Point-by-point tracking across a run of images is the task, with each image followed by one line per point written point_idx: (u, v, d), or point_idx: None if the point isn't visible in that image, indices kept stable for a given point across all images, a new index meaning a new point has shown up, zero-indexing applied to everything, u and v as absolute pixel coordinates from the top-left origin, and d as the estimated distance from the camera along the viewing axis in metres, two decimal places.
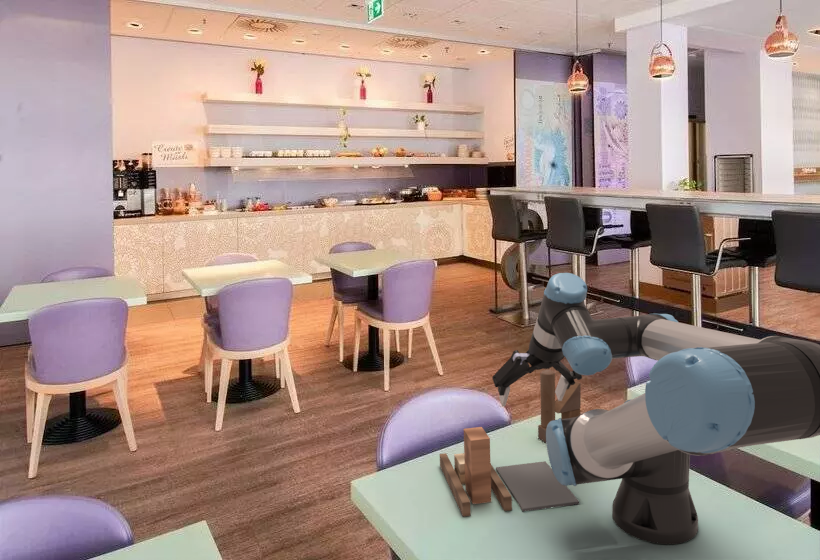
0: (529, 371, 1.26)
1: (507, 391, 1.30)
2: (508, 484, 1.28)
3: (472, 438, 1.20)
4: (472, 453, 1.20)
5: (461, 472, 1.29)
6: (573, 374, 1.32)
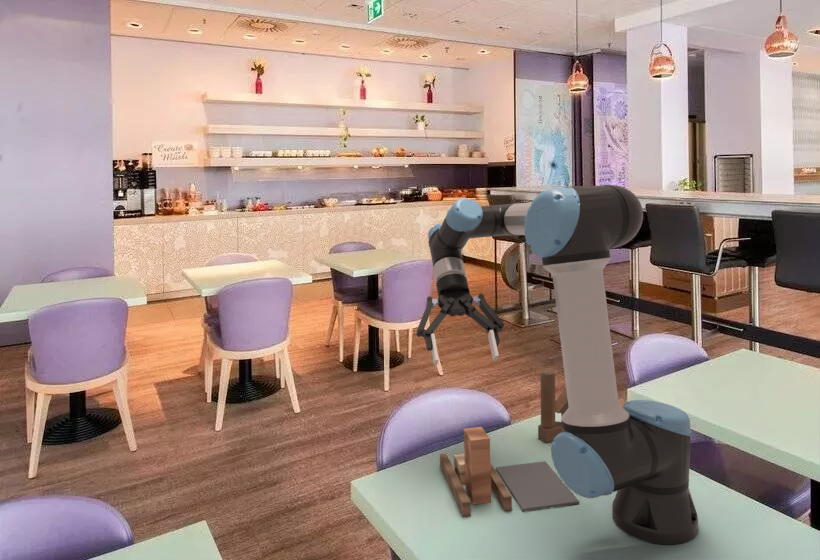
0: (444, 309, 1.35)
1: (432, 337, 1.31)
2: (508, 484, 1.28)
3: (472, 438, 1.20)
4: (472, 453, 1.20)
5: (461, 473, 1.29)
6: None
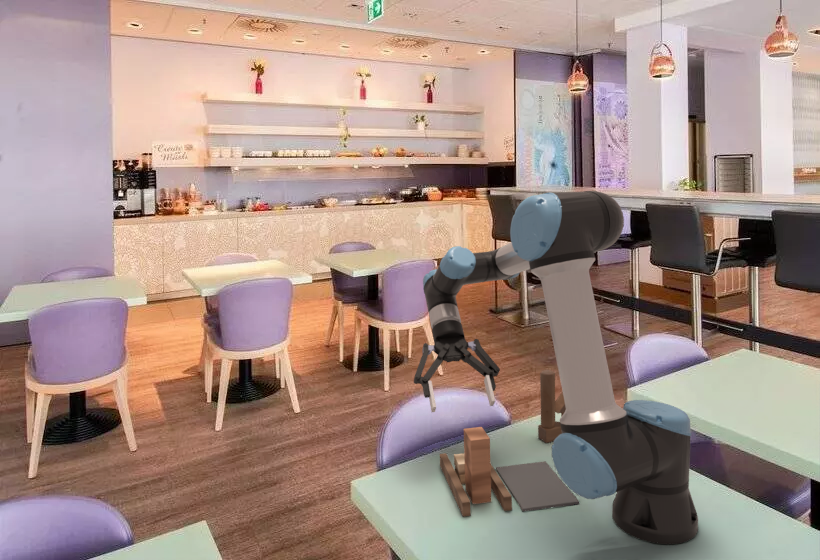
0: (440, 355, 1.38)
1: (430, 384, 1.33)
2: (508, 484, 1.28)
3: (472, 438, 1.20)
4: (472, 453, 1.20)
5: (460, 472, 1.29)
6: None
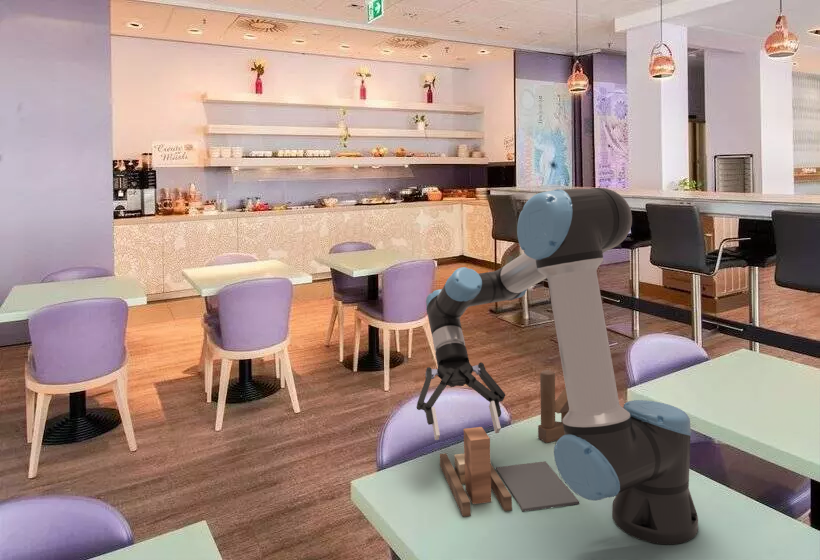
0: (443, 380, 1.33)
1: (433, 411, 1.29)
2: (508, 484, 1.28)
3: (472, 438, 1.20)
4: (472, 453, 1.20)
5: (461, 472, 1.29)
6: None
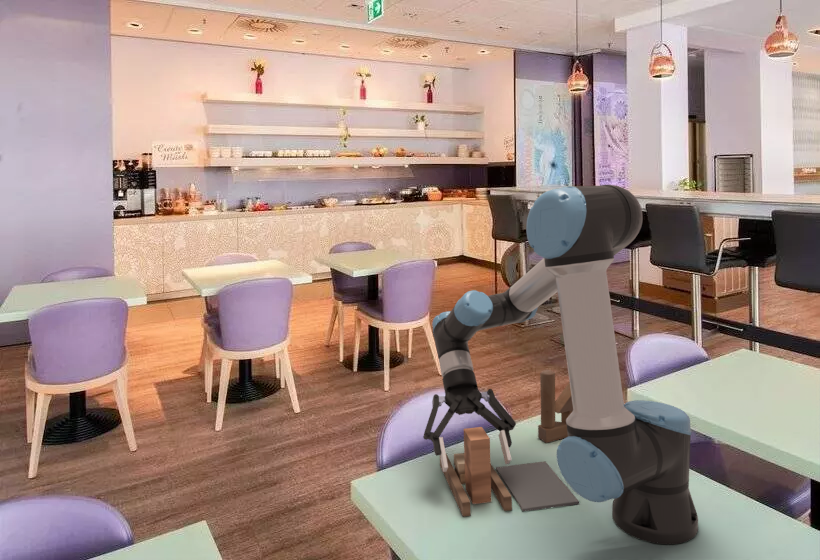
0: (451, 408, 1.28)
1: (441, 441, 1.24)
2: (508, 484, 1.28)
3: (472, 438, 1.20)
4: (472, 453, 1.20)
5: (460, 472, 1.29)
6: None
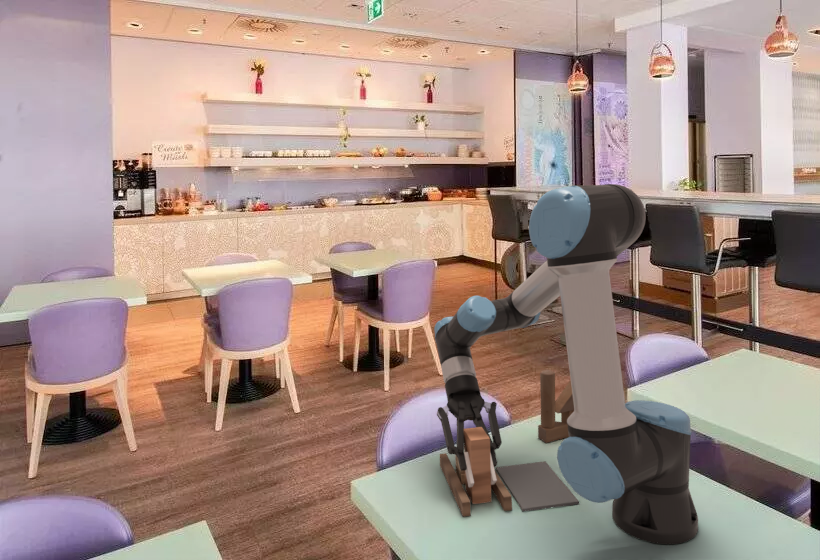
0: (461, 417, 1.27)
1: (466, 456, 1.22)
2: (508, 484, 1.28)
3: (472, 438, 1.20)
4: (472, 453, 1.20)
5: (461, 471, 1.29)
6: None
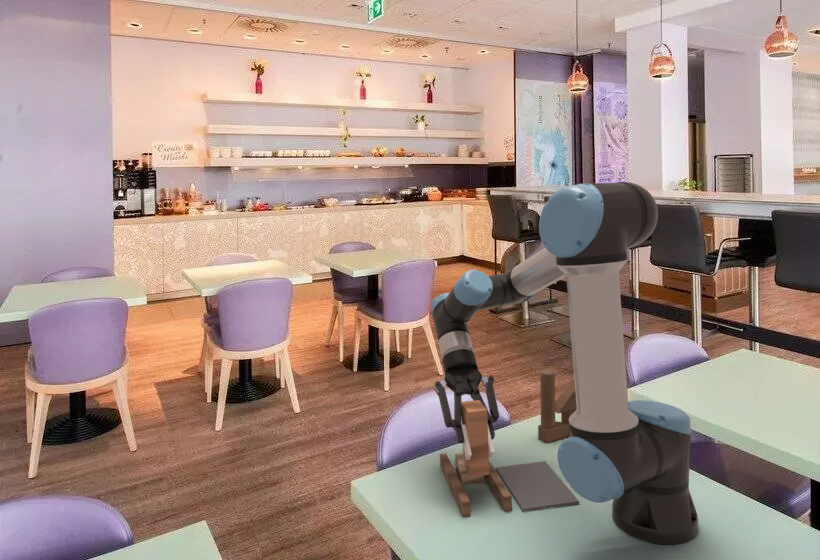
0: (458, 391, 1.26)
1: (464, 429, 1.21)
2: (508, 484, 1.28)
3: (469, 410, 1.20)
4: (469, 425, 1.19)
5: (461, 472, 1.29)
6: None
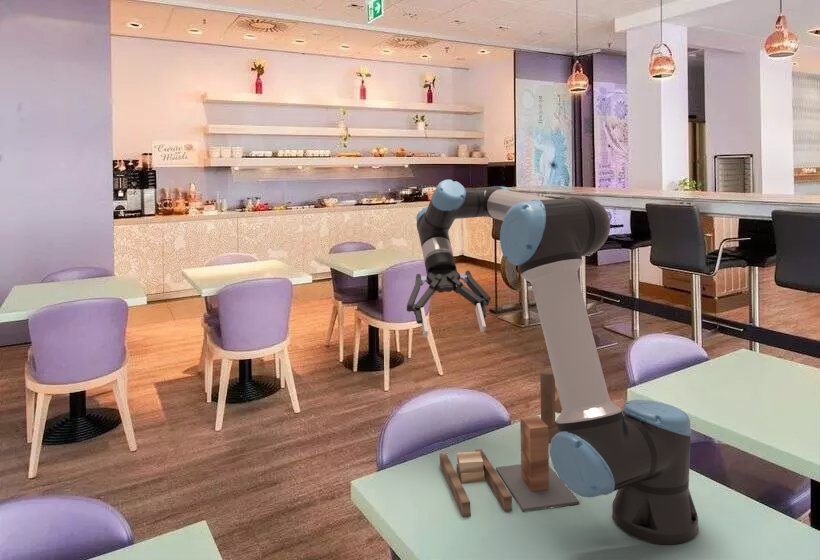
0: (432, 284, 1.41)
1: (422, 310, 1.37)
2: (508, 484, 1.28)
3: (531, 426, 1.23)
4: (531, 441, 1.23)
5: (461, 471, 1.30)
6: None
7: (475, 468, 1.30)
